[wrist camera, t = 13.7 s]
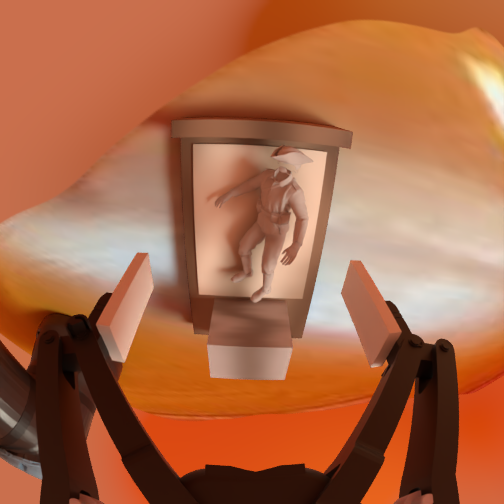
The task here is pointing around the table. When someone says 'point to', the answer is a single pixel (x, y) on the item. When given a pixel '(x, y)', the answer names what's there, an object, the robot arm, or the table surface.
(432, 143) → the table surface
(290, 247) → the soldier figure
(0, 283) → the table surface
